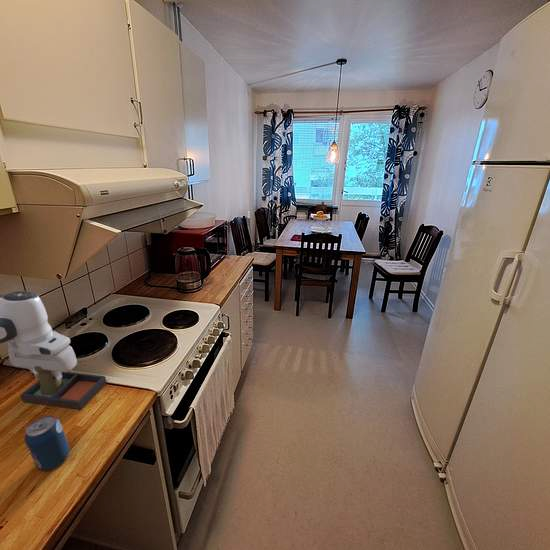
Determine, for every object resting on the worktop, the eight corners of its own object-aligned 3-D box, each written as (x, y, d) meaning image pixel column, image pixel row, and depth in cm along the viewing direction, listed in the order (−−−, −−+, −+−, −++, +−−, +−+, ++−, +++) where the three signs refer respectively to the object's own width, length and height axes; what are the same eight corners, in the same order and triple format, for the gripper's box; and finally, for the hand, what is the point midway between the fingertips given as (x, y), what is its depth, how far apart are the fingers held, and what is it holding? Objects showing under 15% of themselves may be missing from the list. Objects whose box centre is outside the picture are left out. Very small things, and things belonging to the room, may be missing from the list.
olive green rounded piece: (37, 396, 90) (26, 368, 86) (45, 383, 95) (36, 356, 91) (59, 393, 91) (50, 365, 87) (66, 380, 97) (58, 353, 93)
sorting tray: (22, 402, 88) (19, 394, 87) (54, 376, 99) (51, 369, 98) (81, 410, 86) (78, 402, 85) (107, 383, 97) (105, 376, 96)
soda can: (76, 445, 76) (64, 411, 71) (62, 471, 69) (48, 436, 65) (47, 448, 75) (33, 414, 70) (30, 475, 68) (14, 440, 64)
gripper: (-5, 344, 84) (11, 381, 90) (57, 351, 82) (69, 388, 87) (16, 332, 90) (29, 367, 95) (74, 338, 88) (85, 374, 93)
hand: (49, 377), depth 91 cm, fingers open, 5 cm apart
